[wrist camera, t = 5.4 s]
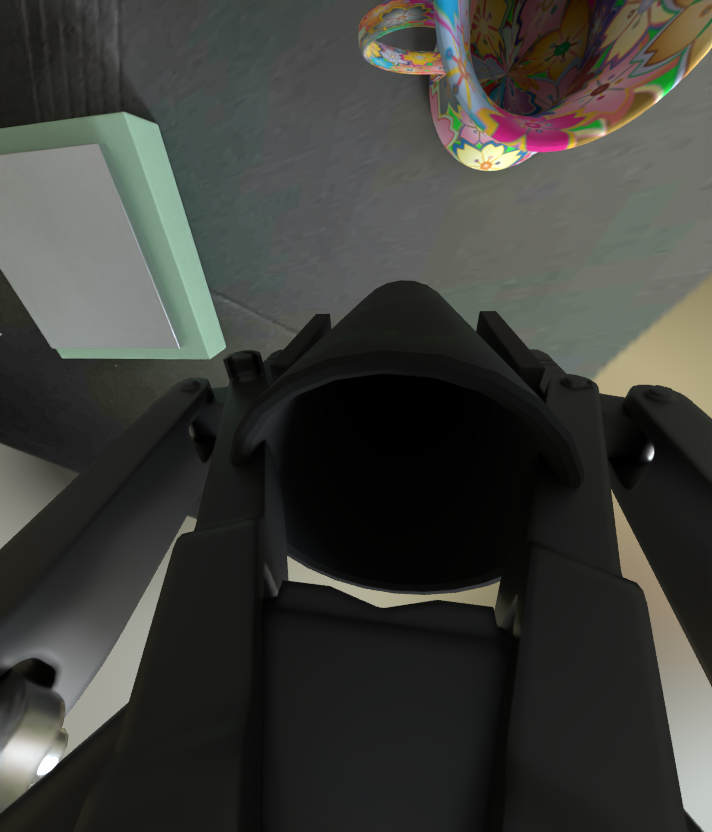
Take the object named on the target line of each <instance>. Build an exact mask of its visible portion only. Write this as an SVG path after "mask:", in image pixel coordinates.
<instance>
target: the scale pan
mask: <svg viewBox="0 0 712 832" xmlns="http://www.w3.org/2000/svg"><path fill="white" fill-rule="evenodd" d="M0 269H1V270H2V272H3V273H4V275H5V276H6V278H7V280H8V281H9V283H10V284H11V286H12V287H13V289H14V290H15V292H16V293H17V295H18V297H19V298H20V300H21V301H22V303H23V304H24V306H25V307H26V309H27V310H28V312H29V314H30V315H31V317H32V318H33V320H34V321H35V323H36V324H37V326H38V327H39V329H40V331H41V332H42V334H43V335H44V337H45V338H46V340H47V341H48V343H49V344H50V346H51V348H181V347H183V346H185V344H184V342H183V339H182V336H181V334H180V331H179V329H178V326H177V323H176V321H175V318H174V316H173V313H172V310H171V308H170V305H169V303H168V300H167V298H166V295H165V292H164V290H163V287H162V285H161V282H160V279H159V277H158V274H157V272H156V269H155V267H154V264H153V261H152V259H151V256H150V254H149V251H148V248H147V246H146V243H145V241H144V238H143V235H142V233H141V230H140V228H139V225H138V223H137V220H136V217H135V215H134V212H133V210H132V207H131V204H130V202H129V199H128V197H127V194H126V192H125V189H124V186H123V184H122V181H121V179H120V176H119V173H118V171H117V168H116V166H115V163H114V160H113V158H112V155H111V153H110V150H109V148H108V146H107V145H105V144H100V143H90V144H82V145H74V146H66V147H58V148H50V149H41V150H33V151H25V152H17V153H9V154H0Z"/></svg>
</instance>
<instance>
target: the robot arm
mask: <svg viewBox="0 0 712 832" xmlns="http://www.w3.org/2000/svg"><path fill="white" fill-rule="evenodd" d="M330 330H331V321H330V314H316V315H315V316H314V317H313V318H312V319H311V320H310V321H309V323H308V324H307V325H306V326H305V327H304V328H303V329H302V330H301V331H300V332H299V334H298V335H297V336H296V337H295V338H294V339H293V340H292V341H291V342H290V343H289V345H288V346H287V347H286V348H285V349H284V350H278V351H276V352H274V353H272V354H271V355H270V356H269V357H268V358H267V360H265V361H264V362H262V358H261V354H260V352H258V351H253V350H246V351H239V352H235V353H232V354H230V355H228V356H226V357H225V358H224V359H223V361H224V364H225V367H226V370H227V373H228V376H229V379H230V382H229V386H227V387H220V388H213V389H212V388H211V386H210V383H209V381H208V379H205V378H188V379H185V380H183V381H182V382H179V383H177V384H176V385H174V386H173V387H172V388H171V389H170V390H169V391H168V392H166V393H165V394H164V395H163V396H162V397H161V398H160V399H159V400H158V401H157V402H156V403H155V404H154V405H153V406H152V407H151V408H150V409H148V410H147V411H146V412H145V413H144V414H143V415H142V416H141V417H140V418H139V419H138V420H137V421H136V422H135V423H134V424H133V425H132V426H130V427H129V428H128V429H127V430H126V431H125V432H124V433H123V434H122V435H121V436H120V437H119V438H118V439H117V440H116V441H115V442H114V443H112V444H111V445H110V446H109V447H108V448H107V449H106V450H105V451H104V452H103V453H102V454H101V455H100V456H99V457H98V458H97V459H95V460H94V461H93V462H92V463H91V464H90V465H89V466H88V467H87V468H86V469H85V470H84V471H83V472H82V473H81V474H80V475H79V476H78V477H76V478H75V479H74V480H73V481H72V482H71V483H70V484H69V485H68V486H67V487H66V488H65V489H64V490H63V491H62V492H61V493H60V494H59V495H57V496H56V497H55V498H54V499H53V500H52V501H51V502H50V503H49V504H48V505H47V506H46V507H45V508H44V509H43V510H42V511H41V512H39V513H38V514H37V515H36V516H35V517H34V518H33V519H32V520H31V521H30V522H29V523H28V524H27V525H26V526H25V527H24V528H23V529H21V530H20V531H19V532H18V533H17V534H16V535H15V536H14V537H13V538H12V539H11V540H10V541H9V542H8V543H7V544H5V545H4V546H3V547H2V548H1V549H0V832H704V831H703V830H702V829H701V828H700V827H699V825H698V824H697V823H696V822H695V821H694V820H693V819H692V817H690V815H689V814H688V813H687V812H686V811H685V810H684V808H683V803H682V798H681V792H680V786H679V780H678V775H677V769H676V763H675V758H674V753H673V747H672V741H671V735H670V731H669V724H668V719H667V713H666V707H665V702H664V697H663V690H662V685H661V680H660V674H659V668H658V662H657V657H656V651H655V646H654V641H653V635H652V629H651V623H650V617H649V612H648V606H647V602H646V599H645V595H644V592H643V590H642V589H641V588H640V586H639V585H638V584H637V583H636V582H633V581H630V580H628V579H626V578H623V577H622V573H621V567H620V559H619V551H618V543H617V535H616V527H615V519H614V510H613V502H612V494H611V489H612V491H613V493H614V495H615V497H616V499H617V501H618V503H619V505H620V507H621V509H622V511H623V513H624V515H625V517H626V519H627V521H628V523H629V525H630V527H631V529H632V531H633V533H634V535H635V536H636V539H637V540H638V542H639V544H640V546H641V548H642V550H643V552H644V554H645V556H646V558H647V560H648V562H649V564H650V566H651V568H652V570H653V572H654V574H655V576H656V578H657V580H658V581H659V584H660V586H661V588H662V590H663V592H664V594H665V596H666V597H667V600H668V602H669V603H670V605H671V607H672V609H673V611H674V613H675V615H676V617H677V619H678V621H679V623H680V625H681V627H682V629H683V631H684V633H685V635H686V637H687V639H688V641H689V643H690V645H691V647H692V649H693V650H694V653H695V654H696V657H697V658H698V661H699V663H700V664H701V666H702V668H703V670H704V672H705V674H706V676H707V678H708V680H709V682H710V684H711V686H712V419H711V418H710V417H709V416H708V415H707V414H706V413H704V412H703V411H702V410H701V409H700V408H699V407H698V406H696V405H695V404H694V403H693V402H692V401H691V400H690V399H688V398H687V397H685V396H684V395H682V394H681V393H678V392H676V391H673V390H672V389H671V388H667V387H663V386H659V385H656V386H653V385H637V386H633V387H632V388H631V389H630V390H629V392H628V394H627V396H626V398H624V397H618V396H612V395H606V394H601V393H599V389H598V386H597V384H596V383H595V382H593V381H591V380H590V379H587V378H585V377H582V376H578V375H572V374H566V373H565V372H564V371H563V370H562V369H561V368H560V367H559V366H557V364H556V363H555V362H554V361H553V359H552V358H551V357H550V356H549V355H548V354H546V353H544V352H542V351H540V350H529V349H528V348H527V346H526V345H525V344H524V343H523V342H522V341H521V339H520V338H519V337H518V336H517V335H516V334H515V333H514V331H513V330H512V329H511V328H510V327H509V326H508V325H507V323H506V322H505V321H504V320H503V319H502V318H501V316H500V315H499V314H498V313H497V312H496V311H480V313H479V319H478V324H477V330H476V332H477V334H478V335H479V336H480V337H481V338H482V339H483V340H484V341H485V342H486V343H487V344H488V345H489V346H490V347H491V348H492V349H493V350H494V351H495V352H496V353H497V354H498V355H499V356H500V357H501V358H502V359H503V360H504V361H505V362H506V363H507V364H508V365H509V366H510V367H511V369H512V370H513V371H514V372H515V373H516V374H517V375H518V376H519V377H520V378H521V379H522V380H523V381H524V382H525V383H526V384H527V385H528V386H529V387H530V388H531V389H532V390H533V391H534V392H535V393H536V394H537V395H538V396H539V397H540V398H541V399H542V400H543V402H544V403H545V404H546V405H547V406H548V407H549V409H550V410H551V411H552V412H553V413H554V415H555V416H556V417H557V418H558V419H559V420H560V422H561V423H562V424H563V425H564V426H565V428H566V429H567V430H568V431H569V432H570V434H571V435H572V437H573V440H574V442H575V445H576V448H577V451H578V454H579V457H580V460H581V463H582V466H583V468H584V482H583V483H582V484H581V486H569V485H567V484H565V483H563V482H561V481H559V480H558V478H557V477H556V475H555V474H554V473H553V471H552V470H551V468H550V467H549V465H548V464H547V462H546V461H545V459H544V458H543V456H542V455H541V454H540V452H538V454H537V456H536V457H535V459H534V461H533V462H532V464H531V467H530V470H529V472H528V475H527V477H526V480H525V482H524V485H523V488H522V491H521V494H520V497H519V500H518V504H517V507H516V510H515V513H514V516H513V520H512V525H511V530H510V535H509V540H508V545H507V550H506V555H505V560H504V565H503V571H502V576H501V581H500V586H499V591H498V596H497V601H496V606H495V610H494V608H493V607H488V606H480V605H473V604H465V603H456V602H449V601H441V600H434V601H428V602H421V603H415V604H408V605H401V606H394V607H388V608H380V607H376V606H374V605H372V604H369V603H367V602H365V601H363V600H360V599H358V598H356V597H353V596H351V595H349V594H346V593H344V592H342V591H340V590H337V589H335V588H333V587H331V586H325V585H316V584H308V583H301V582H293V581H288V566H287V548H286V531H285V514H284V501H283V496H282V491H281V485H280V480H279V476H278V472H277V468H276V464H275V461H274V457H273V454H272V452H271V449H270V447H269V445H268V442H267V440H266V439H265V440H264V441H263V442H262V444H261V445H260V446H259V447H258V449H257V450H256V451H255V452H254V454H253V455H252V456H251V457H250V459H249V460H248V461H246V462H244V463H241V464H232V463H231V462H230V460H229V459H230V454H231V448H232V443H233V438H234V433H235V430H236V428H237V427H238V425H239V424H240V422H241V420H242V419H243V417H244V415H245V414H246V412H247V411H248V409H249V407H250V406H251V404H252V403H253V402H254V401H255V400H256V399H257V398H258V397H259V396H260V395H261V394H262V393H263V392H264V391H265V390H267V389H268V388H269V387H270V386H271V385H272V384H273V383H274V382H275V381H276V380H277V379H278V378H280V377H281V376H282V375H283V374H284V373H285V372H286V371H287V370H288V369H289V368H290V367H291V366H292V365H294V364H295V363H296V362H297V361H298V360H299V359H300V358H301V357H302V356H303V355H304V354H305V353H306V352H308V351H309V350H310V349H311V348H312V347H313V346H314V345H315V344H316V343H317V342H318V341H319V340H320V339H322V338H323V337H324V336H325V335H326V334H327V333H328V332H329V331H330ZM189 432H190V434H191V437H190V435H189ZM205 482H206V484H205ZM204 484H205V488H204V492H203V497H202V501H201V505H200V509H199V514H198V518H197V522H196V526H195V529H194V531H193V532H188V533H184V534H182V535H181V536H180V537H179V538H178V539H177V541H176V543H175V545H174V548H173V551H172V554H171V558H170V561H169V565H168V568H167V572H166V575H165V578H164V582H163V585H162V589H161V592H160V596H159V600H158V603H157V606H156V610H155V614H154V617H153V620H152V624H151V627H150V631H149V634H148V637H147V641H146V645H145V648H144V651H143V655H142V658H141V662H140V665H139V669H138V673H137V676H136V679H135V683H134V686H133V690H132V693H131V697H130V700H129V702H128V703H127V704H126V705H125V706H124V707H123V708H121V709H120V710H119V711H118V712H117V713H116V714H115V715H113V716H112V717H111V718H110V719H109V720H108V721H106V722H105V723H104V724H103V725H102V726H101V727H100V728H98V729H97V730H96V731H95V732H94V733H93V734H91V735H90V736H89V737H88V738H87V739H86V740H85V741H83V742H82V743H81V744H80V745H79V746H78V747H76V748H75V749H74V750H73V751H72V752H71V753H70V754H68V755H67V756H66V757H65V758H64V759H63V760H62V761H60V762H59V760H60V759H61V757H62V755H63V753H64V751H65V749H66V747H67V742H68V734H67V732H66V730H65V729H64V728H62V726H63V722H64V718H65V716H66V715H67V714H68V712H69V711H70V710H71V709H72V707H73V706H74V705H75V703H76V702H77V701H78V700H79V698H80V697H81V696H82V694H83V693H84V691H85V690H86V688H87V687H88V685H89V684H90V683H91V681H92V679H93V678H94V677H95V675H96V674H97V672H98V671H99V670H100V668H101V666H102V665H103V663H104V662H105V660H106V658H107V657H108V655H109V654H110V652H111V650H112V649H113V647H114V645H115V644H116V642H117V640H118V639H119V637H120V635H121V633H122V632H123V630H124V628H125V626H126V624H127V622H128V621H129V619H130V617H131V615H132V613H133V612H134V610H135V608H136V606H137V604H138V603H139V601H140V599H141V597H142V596H143V594H144V592H145V590H146V588H147V587H148V585H149V583H150V581H151V579H152V578H153V576H154V574H155V572H156V570H157V569H158V567H159V565H160V563H161V561H162V560H163V558H164V556H165V554H166V552H167V551H168V549H169V547H170V545H171V543H172V542H173V540H174V538H175V536H176V534H177V533H178V531H179V529H180V527H181V525H182V524H183V522H184V520H185V518H186V517H187V515H188V513H189V511H190V509H191V508H192V506H193V504H194V502H195V500H196V499H197V497H198V495H199V493H200V491H201V490H202V488H203V486H204ZM58 762H59V763H58ZM57 763H58V764H57ZM56 764H57V765H56ZM55 765H56V766H55ZM35 782H36V783H35ZM33 783H35V784H34V785H33V786H31V787H30V788H29V786H30V784H33ZM28 788H29V789H28Z"/></svg>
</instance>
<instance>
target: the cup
mask: <svg viewBox="0 0 712 832" xmlns="http://www.w3.org/2000/svg"><path fill="white" fill-rule="evenodd" d="M265 439H266V440H267V442H268V445H269V447H270V449H271V452H272V454H273V457H274V461H275V464H276V468H277V472H278V476H279V480H280V485H281V491H282V496H283V501H284V514H285V531H286V548H287V556H289V557H291V558H292V559H294V560H296V561H297V562H299V563H301V564H302V565H304V566H305V567H307V568H309V569H312V570H314V571H316V572H318V573H320V574H323V575H325V576H327V577H330V578H332V579H334V580H337V581H341V582H344V583H348V584H351V585H355V586H358V587H361V588H366V589H371V590H377V591H384V592H389V593H398V594H418V595H419V594H420V595H430V594H442V593H456V592H461V591H466V590H471V589H475V588H480V587H485V586H488V585H491V584H494V583H496V582H499V581H501V576H502V571H503V565H504V560H505V555H506V550H507V545H508V540H509V535H510V530H511V525H512V520H513V516H514V513H515V510H516V507H517V504H518V500H519V497H520V494H521V491H522V488H523V485H524V482H525V480H526V477H527V475H528V472H529V470H530V467H531V464H532V462H533V461H534V459H535V457H536V456H537V454H538V452H540V454H541V455H542V456H543V458H544V459H545V461H546V462H547V464H548V465H549V467H550V468H551V470H552V471H553V473H554V474H555V475H556V477H557V478H558V480H559V481H561V482H563V483H565V484H567V485H569V486H581V484H582V483H583V482H584V468H583V466H582V463H581V460H580V457H579V454H578V451H577V448H576V445H575V442H574V440H573V437H572V435H571V434H570V432H569V431H568V430H567V429H566V428H565V426H564V425H563V424H562V423H561V422H560V420H559V419H558V418H557V417H556V416H555V415H554V413H553V412H552V411H551V410H550V409H549V407H548V406H547V405H546V404H545V403H544V402H543V400H542V399H541V398H540V397H539V396H538V395H537V394H536V393H535V392H534V391H533V390H532V389H531V388H530V387H529V386H528V385H527V384H526V383H525V382H524V381H523V380H522V379H521V378H520V377H519V376H518V375H517V374H516V373H515V372H514V371H513V370H512V369H511V367H510V366H509V365H508V364H507V363H506V362H505V361H504V360H503V359H502V358H501V357H500V356H499V355H498V354H497V353H496V352H495V351H494V350H493V349H492V348H491V347H490V346H489V345H488V344H487V343H486V342H485V341H484V340H483V339H482V338H481V337H480V336H479V335H478V334H477V332H476V331H475V330H474V329H473V328H472V327H471V326H470V325H469V324H468V323H467V322H466V321H465V320H464V319H463V318H462V317H461V316H460V315H459V314H458V313H457V312H456V311H455V310H454V309H453V308H452V307H451V306H450V305H449V304H448V303H447V302H446V301H445V300H444V298H443V297H442V296H441V295H440V294H439V293H438V292H436V291H435V290H433V289H432V288H430V287H429V286H427V285H424V284H421V283H418V282H415V281H402V280H401V281H396V282H391V283H387V284H385V285H383V286H381V287H379V288H377V289H375V290H374V291H373V292H372V293H370V294H369V295H368V296H367V297H366V298H365V299H364V300H363V301H361V302H360V303H359V304H358V305H357V306H356V307H355V308H354V309H353V310H352V311H351V312H350V313H349V314H347V315H346V316H345V317H344V318H343V319H342V320H341V321H340V322H339V323H338V324H337V325H336V326H335V327H333V328H332V329H331V330H330V331H329V332H328V333H327V334H326V335H325V336H324V337H323V338H322V339H320V340H319V341H318V342H317V343H316V344H315V345H314V346H313V347H312V348H311V349H310V350H309V351H308V352H306V353H305V354H304V355H303V356H302V357H301V358H300V359H299V360H298V361H297V362H296V363H295V364H294V365H292V366H291V367H290V368H289V369H288V370H287V371H286V372H285V373H284V374H283V375H282V376H281V377H280V378H278V379H277V380H276V381H275V382H274V383H273V384H272V385H271V386H270V387H269V388H268V389H267V390H265V391H264V392H263V393H262V394H261V395H260V396H259V397H258V398H257V399H256V400H255V401H254V402H253V403H252V404H251V406H250V407H249V409H248V411H247V412H246V414H245V415H244V417H243V419H242V420H241V422H240V424H239V425H238V427H237V428H236V430H235V433H234V438H233V443H232V448H231V454H230V459H229V460H230V462H231V463H232V464H241V463H244V462H246V461H248V460H249V459H250V457H251V456H252V455H253V454H254V452H255V451H256V450H257V449H258V447H259V446H260V445H261V444H262V442H263V441H264V440H265Z"/></svg>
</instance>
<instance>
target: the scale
mask: <svg viewBox="0 0 712 832" xmlns="http://www.w3.org/2000/svg"><path fill="white" fill-rule="evenodd" d="M90 143H100V144H105V145H107V146H108V148H109V150H110V153H111V155H112V158H113V160H114V163H115V166H116V168H117V171H118V173H119V176H120V179H121V181H122V184H123V186H124V189H125V192H126V194H127V197H128V199H129V202H130V204H131V207H132V210H133V212H134V215H135V217H136V220H137V223H138V225H139V228H140V230H141V233H142V235H143V238H144V241H145V243H146V246H147V248H148V251H149V254H150V256H151V259H152V261H153V264H154V267H155V269H156V272H157V274H158V277H159V279H160V282H161V285H162V287H163V290H164V292H165V295H166V298H167V300H168V303H169V305H170V308H171V310H172V313H173V316H174V318H175V321H176V323H177V326H178V329H179V331H180V334H181V336H182V339H183V342H184V344H185V346H183V347H181V348H56V350H57V351H58V353H59V354H60V356H61V357H62V358H122V359H211V358H212V357H214V356H215V355H216V354H218V353H219V352H221V351H222V350H223V349H225V348H226V344H225V341H224V338H223V335H222V331H221V328H220V325H219V322H218V318H217V315H216V312H215V309H214V305H213V302H212V299H211V296H210V292H209V289H208V286H207V283H206V279H205V276H204V273H203V270H202V266H201V263H200V260H199V257H198V253H197V250H196V247H195V244H194V240H193V237H192V234H191V231H190V228H189V224H188V221H187V218H186V215H185V211H184V208H183V205H182V202H181V198H180V195H179V192H178V189H177V185H176V182H175V179H174V176H173V172H172V169H171V166H170V163H169V159H168V156H167V153H166V150H165V146H164V143H163V140H162V137H161V133H160V130H159V127H158V124H156V123H153V122H151V121H148V120H145V119H142V118H140V117H137V116H134V115H132V114H129V113H126V112H124V111H123V112H116V113H109V114H102V115H94V116H87V117H80V118H73V119H65V120H58V121H51V122H44V123H37V124H29V125H22V126H15V127H8V128H1V129H0V154H9V153H17V152H25V151H33V150H41V149H50V148H58V147H66V146H74V145H82V144H90Z"/></svg>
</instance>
